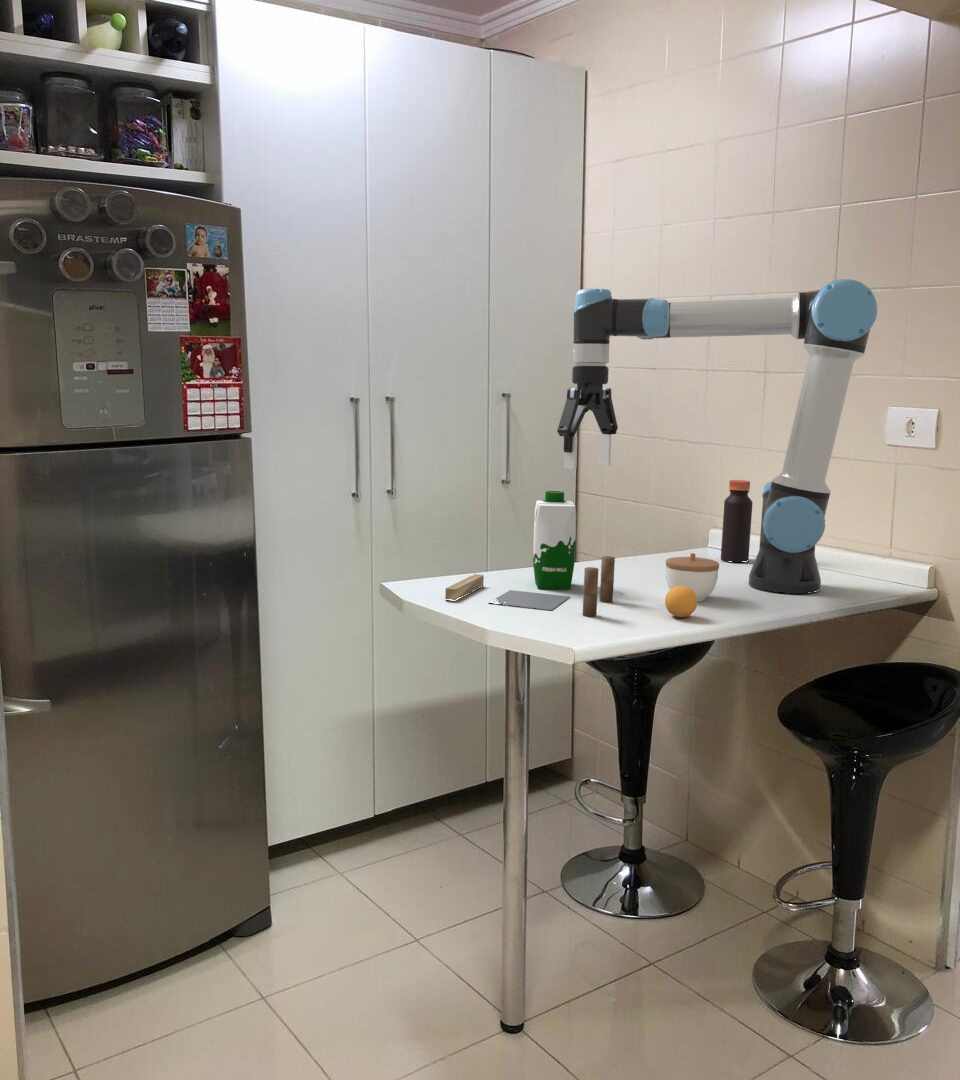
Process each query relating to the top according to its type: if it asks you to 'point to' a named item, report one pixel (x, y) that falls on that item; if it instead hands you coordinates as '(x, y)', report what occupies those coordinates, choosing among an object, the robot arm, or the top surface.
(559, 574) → the milk carton
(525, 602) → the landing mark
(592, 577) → the post
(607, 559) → the post
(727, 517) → the bottle
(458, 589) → the rail
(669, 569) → the lidded jar
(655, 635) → the top surface
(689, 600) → the ball
